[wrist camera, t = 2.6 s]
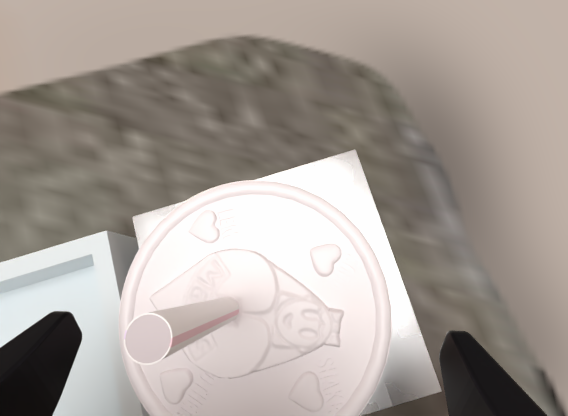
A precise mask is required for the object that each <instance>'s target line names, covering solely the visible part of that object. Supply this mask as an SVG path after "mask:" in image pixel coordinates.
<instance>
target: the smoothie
mask: <svg viewBox="0 0 568 416" xmlns="http://www.w3.org/2000/svg"><path fill="white" fill-rule="evenodd" d="M391 335H392V309H391V301H390V294H389V290H388V286H387V281H386V278H385V275H384V272H383V269H382V267H381V264H380V262H379V260H378V258H377V256H376V254H375V252H374V250H373V248H372V247H371V245H370V243H369V242H368V240H367V239H366V237H365V236H364V235H363V233H362V232H361V231H360V229H359V228H358V227H357V226H356V225H355V224H354V223H353V221H352V220H351V219H349V218H348V217H347V216H346V215H345V214H344V213H343V212H342V211H341V210H339V209H338V208H337V207H335V206H334V205H333V204H331V203H330V202H328V201H327V200H325V199H324V198H322V197H320V196H318V195H316V194H314V193H312V192H310V191H308V190H305V189H302V188H300V187H297V186H293V185H290V184H286V183H281V182H275V181H265V180H247V181H238V182H233V183H228V184H223V185H220V186H217V187H213V188H211V189H208V190H206V191H203V192H201V193H199V194H197V195H195V196H193V197H191V198H190V199H188V200H186V201H185V202H183V203H182V204H180V205H179V206H177V207H176V208H175V209H174V210H172V211H171V212H170V213H169V214H168V215H167V216H165V217H164V218H163V219H162V220H161V221H160V222H159V223H158V224H157V226H156V227H155V228H154V229H153V230H152V231H151V232H150V234H149V235H148V237H147V238H146V239H145V241H144V242H143V244H142V245H141V247H140V249H139V250H138V252H137V254H136V256H135V258H134V260H133V262H132V264H131V266H130V269H129V271H128V274H127V277H126V280H125V283H124V287H123V291H122V296H121V301H120V309H119V340H120V348H121V354H122V359H123V362H124V366H125V369H126V373H127V375H128V378H129V380H130V383H131V385H132V387H133V389H134V391H135V393H136V395H137V397H138V399H139V400H140V402H141V403H142V405H143V407H144V408H145V410H146V411H147V412H148V414H149V415H150V416H359V415H360V413H361V412H362V411H363V409H364V408H365V406H366V405H367V404H368V402H369V400H370V399H371V397H372V395H373V394H374V392H375V390H376V388H377V386H378V384H379V381H380V379H381V377H382V374H383V371H384V368H385V365H386V362H387V358H388V354H389V349H390V342H391Z"/></svg>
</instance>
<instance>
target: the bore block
mask: <svg viewBox="0 0 568 416" xmlns="http://www.w3.org/2000/svg"><path fill="white" fill-rule="evenodd" d="M256 180H265V181H275V182H281V183H286V184H290V185H293V186H297V187H300V188H302V189H305V190H308V191H310V192H312V193H314V194H316V195H318V196H320V197H322V198H324V199H325V200H327V201H328V202H330V203H331V204H333V205H334V206H335V207H337V208H338V209H339V210H341V211H342V212H343V213H344V214H345V215H346V216H347V217H348V218H349V219H351V220H352V221H353V223H354V224H355V225H356V226H357V227H358V228H359V229H360V231H361V232H362V233H363V235H364V236H365V237H366V239H367V240H368V242H369V243H370V245H371V247H372V248H373V250H374V252H375V254H376V256H377V258H378V260H379V262H380V264H381V267H382V269H383V272H384V275H385V278H386V281H387V286H388V290H389V294H390V301H391V309H392V335H391V342H390V349H389V354H388V358H387V362H386V365H385V368H384V371H383V374H382V377H381V379H380V381H379V384H378V386H377V388H376V390H375V392H374V394H373V395H372V397H371V399H370V400H369V402H368V404H367V405H366V406H365V408H364V409H363V411H362V412H361V413H360V415H359V416H363V415H366V414H369V413H372V412H376V411H379V410H382V409H386V408H389V407H392V406H395V405H399V404H402V403H405V402H408V401H412V400H415V399H418V398H422V397H425V396H428V395H431V394H435V393H438V392H441V391H442V390H441V387H440V385H439V382H438V379H437V376H436V373H435V371H434V368H433V365H432V362H431V359H430V357H429V354H428V351H427V348H426V345H425V343H424V340H423V337H422V334H421V331H420V329H419V326H418V323H417V320H416V318H415V315H414V312H413V309H412V306H411V304H410V301H409V298H408V295H407V292H406V290H405V287H404V284H403V281H402V278H401V276H400V273H399V270H398V267H397V264H396V262H395V259H394V256H393V253H392V251H391V248H390V245H389V242H388V239H387V237H386V234H385V231H384V228H383V225H382V223H381V220H380V217H379V214H378V211H377V209H376V206H375V203H374V200H373V197H372V195H371V192H370V189H369V186H368V184H367V181H366V178H365V175H364V172H363V170H362V167H361V164H360V161H359V158H358V156H357V153H356V150H352V151H349V152H346V153H342V154H339V155H336V156H332V157H329V158H326V159H322V160H319V161H316V162H313V163H309V164H306V165H303V166H299V167H296V168H293V169H289V170H286V171H283V172H280V173H276V174H273V175H270V176H266V177H263V178H260V179H256ZM184 202H185V201H184ZM182 203H183V202H180V203H177V204H174V205H170V206H167V207H164V208H161V209H157V210H154V211H151V212H147V213H144V214H141V215H137V216H134V217H132V218H133V223H134V227H135V232H136V237H137V241H138V246H139V249H140V247H141V245H142V244H143V242H144V241H145V239H146V238H147V237H148V235H149V234H150V232H151V231H152V230H153V229H154V228H155V227H156V226H157V224H158V223H159V222H160V221H161V220H162V219H163V218H164V217H165V216H167V215H168V214H169V213H170V212H171V211H172V210H174V209H175V208H176V207H177V206H179V205H180V204H182Z"/></svg>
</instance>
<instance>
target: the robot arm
mask: <svg viewBox="0 0 568 416" xmlns="http://www.w3.org/2000/svg"><path fill="white" fill-rule="evenodd" d="M81 341H82V331H81V329H80V327H79V325H78V323H77V321H76V319H75V317H74V315H73V314H72V313H71V312H68V311H53V312H51V313H49V314H48V315H46V316H45V317H43V318H42V319H40V320H39V321H38V322H36V323H35V324H33V325H32V326H30V327H29V328H27V329H26V330H25V331H23V332H22V333H20V334H19V335H17V336H16V337H15V338H13V339H12V340H10V341H9V342H7V343H6V344H4V345H3V346H2V347H0V416H52V415H53V413H54V411H55V409H56V407H57V405H58V402H59V400H60V397H61V395H62V392H63V390H64V387H65V384H66V382H67V379H68V376H69V374H70V371H71V368H72V366H73V363H74V360H75V358H76V355H77V352H78V350H79V347H80V344H81ZM439 361H440V367H441V372H442V378H443V384H444V389H445V395H446V400H447V406H448V412H449V416H547V415H546V414H545V413H544V411H543V410H542V409H541V408H540V407H539V406H538V405H537V404H536V403H535V402H534V401H533V400H532V399H531V398H530V397H529V396H528V395H527V394H526V393H525V391H524V390H523V389H522V388H521V387H520V386H519V385H518V384H517V383H516V382H515V381H514V380H513V379H512V378H511V377H510V376H509V375H508V374H507V372H506V371H505V370H504V369H503V368H502V367H501V366H500V365H499V364H498V363H497V362H496V361H495V360H494V359H493V358H492V357H491V356H490V355H489V354H488V352H487V351H486V350H485V349H484V348H483V347H482V346H481V345H480V344H479V343H478V342H477V341H476V340H475V339H474V338H473V337H472V336H471V335H470V334H469V333H468V332H465V331H449V332H447V334H446V336H445V339H444V342H443V344H442V347H441V350H440V354H439Z"/></svg>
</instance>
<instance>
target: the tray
mask: <svg viewBox="0 0 568 416" xmlns="http://www.w3.org/2000/svg"><path fill="white" fill-rule="evenodd" d="M138 250H139V246H138V241H137V238H134V237H130V236H126V235H122V234H118V233H114V232H110V231H103V232H100V233H97V234H94V235H90V236H87V237H84V238H80V239H77V240H74V241H70V242H67V243H64V244H61V245H57V246H54V247H51V248H47V249H44V250H41V251H37V252H34V253H31V254H27V255H24V256H21V257H18V258H14V259H11V260H8V261H4V262H1V263H0V347H2V346H3V345H4V344H6V343H7V342H9V341H10V340H12V339H13V338H15V337H16V336H17V335H19V334H20V333H22V332H23V331H25V330H26V329H27V328H29V327H30V326H32V325H33V324H35V323H36V322H38V321H39V320H40V319H42V318H43V317H45V316H46V315H48V314H49V313H51V312H53V311H68V312H71V313H72V314H73V315H74V317H75V319H76V321H77V323H78V325H79V327H80V329H81V331H82V341H81V344H80V347H79V350H78V352H77V355H76V358H75V360H74V363H73V366H72V368H71V371H70V374H69V376H68V379H67V382H66V384H65V387H64V390H63V392H62V395H61V397H60V400H59V402H58V405H57V407H56V409H55V411H54V413H53V415H52V416H150V415H149V414H148V412H147V411H146V410H145V408H144V407H143V405H142V403H141V402H140V400H139V399H138V397H137V395H136V393H135V391H134V389H133V387H132V385H131V383H130V380H129V378H128V375H127V373H126V369H125V366H124V362H123V359H122V354H121V348H120V340H119V309H120V301H121V296H122V291H123V287H124V283H125V280H126V277H127V274H128V271H129V269H130V266H131V264H132V262H133V260H134V258H135V256H136V254H137V252H138Z"/></svg>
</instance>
